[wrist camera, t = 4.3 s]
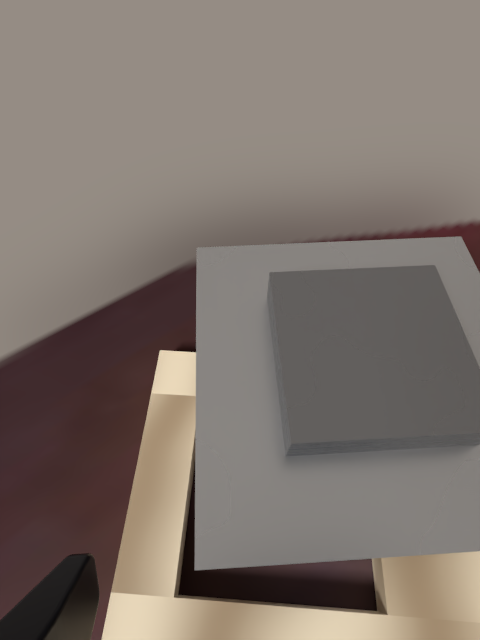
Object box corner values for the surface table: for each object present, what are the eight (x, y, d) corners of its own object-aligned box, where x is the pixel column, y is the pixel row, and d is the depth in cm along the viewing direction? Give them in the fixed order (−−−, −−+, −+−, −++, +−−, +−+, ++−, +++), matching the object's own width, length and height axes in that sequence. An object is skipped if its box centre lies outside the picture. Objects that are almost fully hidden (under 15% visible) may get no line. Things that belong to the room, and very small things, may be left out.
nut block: (343, 554, 15) (669, 540, 4) (228, 561, 15) (187, 572, 3) (322, 437, 18) (479, 209, 6) (224, 443, 17) (192, 220, 6)
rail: (641, 389, 19) (663, 379, 18) (824, 733, 12) (876, 748, 11) (164, 361, 20) (160, 350, 19) (105, 668, 13) (93, 677, 12)
